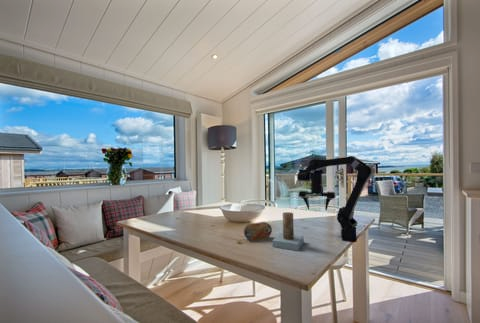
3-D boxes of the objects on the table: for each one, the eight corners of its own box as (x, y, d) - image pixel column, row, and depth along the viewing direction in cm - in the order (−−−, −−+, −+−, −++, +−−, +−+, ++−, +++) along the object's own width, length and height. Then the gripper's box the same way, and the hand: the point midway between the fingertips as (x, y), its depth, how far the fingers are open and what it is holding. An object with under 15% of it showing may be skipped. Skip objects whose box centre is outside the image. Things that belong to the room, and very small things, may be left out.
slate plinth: (303, 242, 115) (303, 236, 115) (297, 250, 104) (297, 243, 104) (280, 238, 121) (280, 233, 121) (272, 246, 110) (272, 240, 110)
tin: (245, 241, 119) (244, 224, 119) (243, 239, 122) (242, 223, 122) (272, 238, 123) (271, 222, 123) (269, 236, 126) (269, 220, 126)
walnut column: (292, 236, 115) (292, 212, 115) (294, 239, 110) (293, 214, 110) (282, 236, 115) (282, 212, 115) (283, 239, 110) (283, 214, 110)
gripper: (336, 180, 131) (336, 208, 131) (302, 180, 140) (303, 206, 140) (334, 182, 121) (334, 212, 121) (298, 181, 130) (299, 209, 130)
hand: (317, 209), depth 128 cm, fingers open, 9 cm apart
